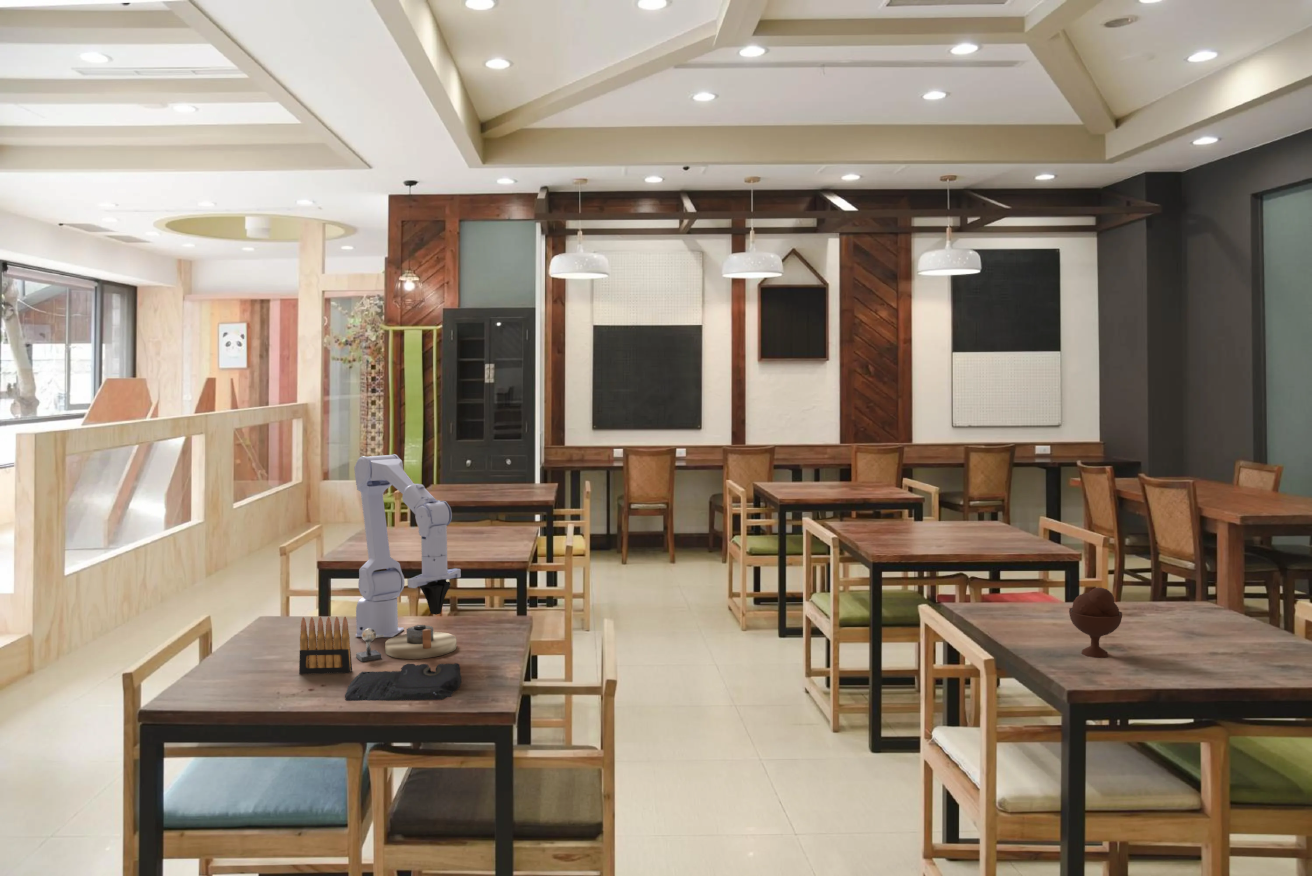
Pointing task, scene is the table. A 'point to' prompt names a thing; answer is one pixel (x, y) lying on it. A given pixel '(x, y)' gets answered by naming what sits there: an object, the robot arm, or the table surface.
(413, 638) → the iron cover
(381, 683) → the black folded garment
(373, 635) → the grey and clear piece
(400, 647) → the turntable
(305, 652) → the ammunition clip
